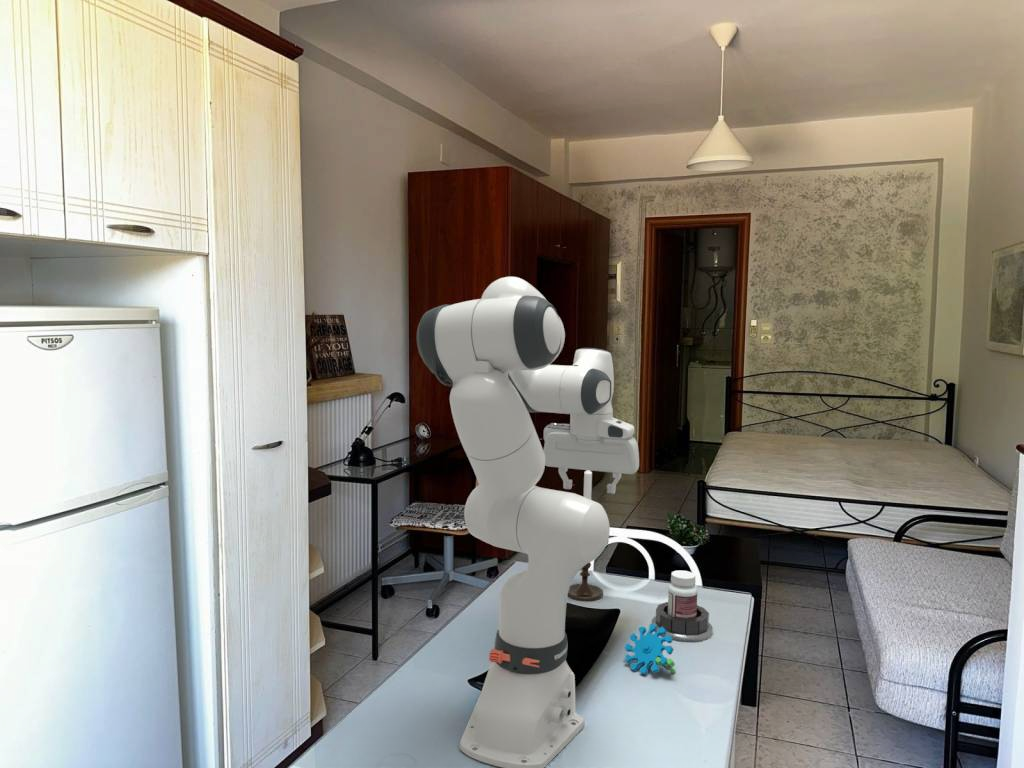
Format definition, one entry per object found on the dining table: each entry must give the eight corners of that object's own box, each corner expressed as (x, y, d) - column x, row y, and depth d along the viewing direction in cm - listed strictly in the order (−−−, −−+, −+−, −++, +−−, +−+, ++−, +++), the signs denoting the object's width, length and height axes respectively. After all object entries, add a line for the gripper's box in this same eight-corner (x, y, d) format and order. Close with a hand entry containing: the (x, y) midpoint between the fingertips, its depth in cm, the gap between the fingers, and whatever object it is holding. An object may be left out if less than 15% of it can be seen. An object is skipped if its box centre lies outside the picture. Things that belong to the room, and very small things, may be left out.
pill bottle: (701, 626, 157) (704, 575, 156) (683, 632, 153) (685, 581, 152) (679, 616, 162) (682, 567, 161) (661, 622, 158) (663, 572, 157)
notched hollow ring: (709, 646, 149) (710, 627, 149) (646, 635, 154) (647, 617, 153) (715, 622, 161) (715, 605, 161) (656, 613, 166) (657, 596, 165)
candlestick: (553, 591, 178) (557, 451, 175) (585, 583, 184) (590, 448, 181) (582, 606, 169) (587, 459, 166) (615, 596, 175) (620, 455, 172)
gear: (613, 653, 142) (645, 613, 144) (626, 667, 145) (657, 628, 147) (651, 684, 132) (684, 642, 135) (664, 699, 135) (697, 657, 138)
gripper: (539, 424, 151) (537, 488, 152) (636, 431, 144) (633, 499, 145) (548, 420, 157) (546, 482, 158) (642, 427, 150) (639, 492, 151)
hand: (589, 490), depth 151 cm, fingers open, 8 cm apart
